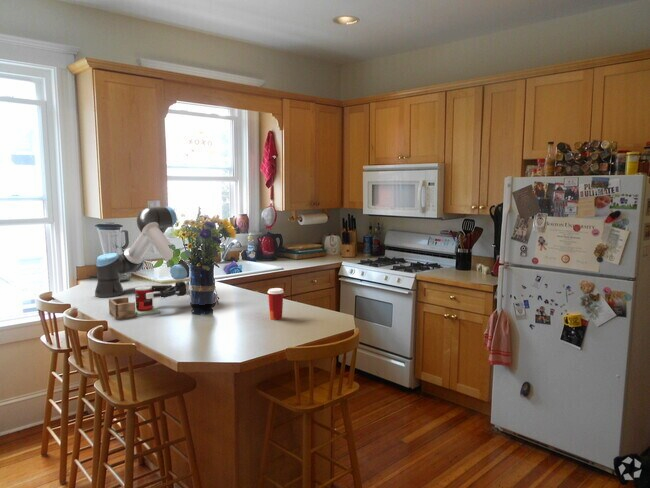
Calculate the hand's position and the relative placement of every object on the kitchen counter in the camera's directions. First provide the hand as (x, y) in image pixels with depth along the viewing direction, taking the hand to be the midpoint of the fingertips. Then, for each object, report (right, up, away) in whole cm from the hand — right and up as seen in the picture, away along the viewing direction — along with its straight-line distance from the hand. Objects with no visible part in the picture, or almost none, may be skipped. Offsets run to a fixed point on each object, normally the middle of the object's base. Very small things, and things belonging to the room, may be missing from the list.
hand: (142, 293), depth 247 cm
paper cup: (+68, -11, -11) cm, 69 cm away
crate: (-3, -10, -1) cm, 10 cm away
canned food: (+1, -8, +2) cm, 8 cm away
